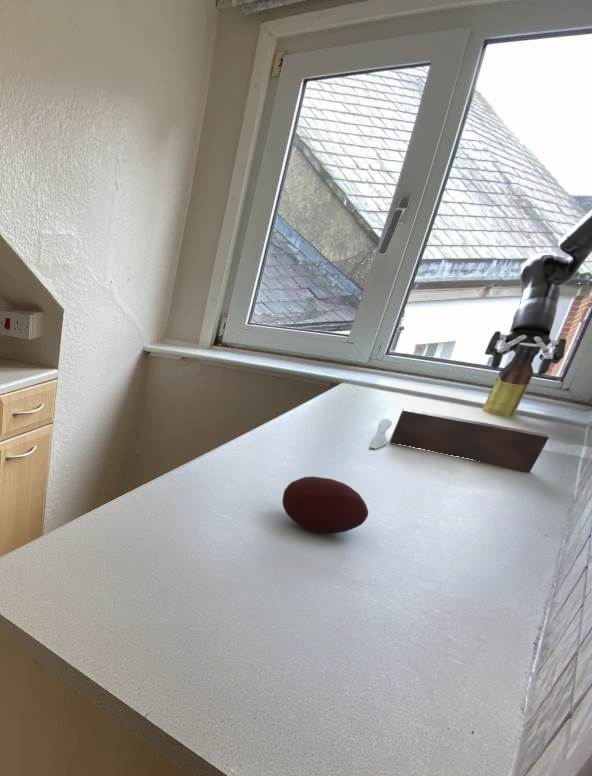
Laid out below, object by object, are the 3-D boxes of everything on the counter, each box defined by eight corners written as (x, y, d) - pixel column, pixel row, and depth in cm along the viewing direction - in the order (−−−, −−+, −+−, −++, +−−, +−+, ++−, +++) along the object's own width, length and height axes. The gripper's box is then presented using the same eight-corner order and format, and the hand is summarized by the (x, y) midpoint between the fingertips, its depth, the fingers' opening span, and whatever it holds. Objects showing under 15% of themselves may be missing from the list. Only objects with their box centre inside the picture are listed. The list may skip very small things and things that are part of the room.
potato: (260, 514, 94) (274, 470, 90) (306, 504, 98) (321, 462, 94) (323, 550, 84) (341, 502, 81) (370, 537, 88) (391, 491, 84)
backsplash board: (527, 469, 116) (547, 434, 112) (529, 472, 114) (549, 437, 110) (389, 440, 128) (403, 408, 125) (389, 443, 127) (403, 410, 123)
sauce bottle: (492, 414, 149) (528, 341, 140) (516, 422, 144) (556, 346, 135) (472, 415, 148) (507, 341, 139) (496, 423, 143) (534, 347, 134)
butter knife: (396, 420, 140) (382, 416, 141) (381, 450, 122) (366, 446, 123) (395, 422, 140) (381, 419, 142) (380, 452, 122) (365, 448, 124)
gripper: (503, 306, 144) (487, 357, 141) (579, 313, 137) (564, 367, 133) (491, 324, 150) (476, 373, 147) (563, 332, 143) (548, 384, 140)
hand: (518, 370), depth 140 cm, fingers open, 8 cm apart
